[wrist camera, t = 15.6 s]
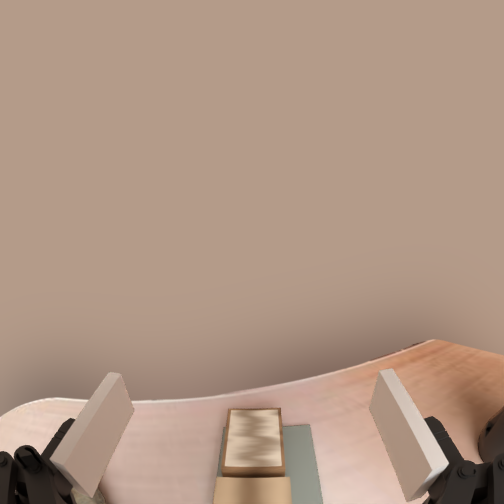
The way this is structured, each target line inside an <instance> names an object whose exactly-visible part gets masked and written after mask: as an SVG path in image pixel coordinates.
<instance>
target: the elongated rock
mask: <svg viewBox="0 0 504 504" xmlns="http://www.w3.org/2000/svg"><path fill="white" fill-rule="evenodd" d="M71 491H72V493H73V495H74V498H75V501H76V503H77V504H105V498H104V497H103V496H102V493H101V492H100V491H99V488H98V487H97V489H96V491H95V493H94V496H93V498H91V497H88V496H85V495H83V494H80V493H78V491H77V490H76V489H75V488H74V487H73V488H72V490H71Z"/></svg>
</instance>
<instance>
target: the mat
mask: <svg viewBox="0 0 504 504" xmlns="http://www.w3.org/2000/svg"><path fill="white" fill-rule="evenodd" d="M282 431H283V443H284V456H285V477H290V484H291V497H292V504H323V499H322V493H321V487H320V481H319V475H318V469H317V463H316V457H315V452H314V446H313V440H312V435H311V429H310V425H300V426H285V427H282ZM225 433H226V427H224V429H223V436H222V443H221V450H220V458H219V465H218V472H217V477H223V475H222V471H221V464H222V456H223V448H224V441H225Z"/></svg>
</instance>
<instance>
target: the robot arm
mask: <svg viewBox="0 0 504 504" xmlns="http://www.w3.org/2000/svg"><path fill="white" fill-rule="evenodd" d="M369 409H370V412H371V414H372V416H373V419H374V421H375V423H376V426H377V428H378V430H379V433H380V435H381V438H382V440H383V442H384V445H385V447H386V450H387V452H388V455H389V457H390V460H391V462H392V465H393V467H394V470H395V472H396V475H397V478H398V480H399V483H400V485H401V488H402V491H403V493H404V496H405V499H406V502H409V501H412V500H415V499H417V498H420V497H422V496H423V495H424V494H425V493H426V492H427V491H428V493H429V495H430V496H429V497H428V498H427V499H426V500H425V501H424V502H423V504H504V406H503V407H502V408H501V409H500V410H499V411H498V412H497V413H496V414H495V415H494V416H493V417H492V418H491V419H490V420H489V421H488V423H487V424H486V426H485V427H484V429H483V431H482V432H481V434H480V437H479V443H478V446H479V453H480V456H481V458H482V460H483V461H484V463H483V464H475V463H474V462H471V461H469V460H464V459H463V458H462V456H461V454H460V453H459V451H458V449H457V448H456V446H455V444H454V443H453V441H452V439H451V438H450V437H449V435H448V433H447V431H445V428H444V427H443V425H442V423H441V422H440V421H439V420H437V419H436V418H435V417H433V416H431V417H428V418H425V419H423V417H422V415H421V414H420V412H419V410H418V409H417V407H416V405H415V404H414V402H413V400H412V399H411V397H410V396H409V394H408V392H407V391H406V389H405V388H404V386H403V384H402V383H401V381H400V380H399V378H398V376H397V375H396V373H395V372H394V370H393V369H392V368H390V369H385V370H379V372H378V377H377V381H376V385H375V389H374V392H373V396H372V400H371V403H370V407H369ZM133 412H134V408H133V405H132V403H131V400H130V398H129V395H128V392H127V389H126V387H125V384H124V381H123V378H122V375H121V374H120V373H113V372H109V373H108V374H107V375H106V377H105V378H104V380H103V381H102V383H101V384H100V385H99V387H98V388H97V390H96V391H95V393H94V394H93V395H92V397H91V398H90V399H89V401H88V402H87V404H86V405H85V407H84V408H83V410H82V411H81V412H80V414H79V415H78V417H77V418H76V420H75V419H72V418H70V419H68V420H67V421H65V422H64V423H63V424H62V425H61V427H60V428H59V429H58V432H56V434H55V435H54V437H53V438H52V440H51V441H50V442H49V444H48V445H47V447H46V448H45V450H44V451H43V453H42V454H41V456H40V454H39V453H38V452H37V450H36V449H35V448H34V447H32V446H29V445H24V446H21V447H19V448H18V449H17V450H16V451H15V453H14V459H13V458H12V456H11V455H10V454H9V453H7V452H4V451H1V452H0V504H77V503H76V501H75V498H74V495H73V493H72V491H71V490H72V488H73V487H74V488H75V489H76V490H77V491H78V493H80V494H83V495H85V496H88V497H91V498H93V496H94V493H95V491H96V489H97V487H98V485H99V482H100V480H101V478H102V476H103V474H104V472H105V470H106V467H107V465H108V463H109V461H110V459H111V457H112V455H113V453H114V451H115V449H116V446H117V444H118V442H119V440H120V438H121V436H122V434H123V432H124V430H125V428H126V426H127V424H128V422H129V420H130V418H131V416H132V414H133Z"/></svg>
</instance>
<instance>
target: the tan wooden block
mask: <svg viewBox="0 0 504 504" xmlns="http://www.w3.org/2000/svg"><path fill="white" fill-rule="evenodd" d="M213 504H292V497H291V484H290V477H275V478H230V477H216V483H215V490H214V498H213Z"/></svg>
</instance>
